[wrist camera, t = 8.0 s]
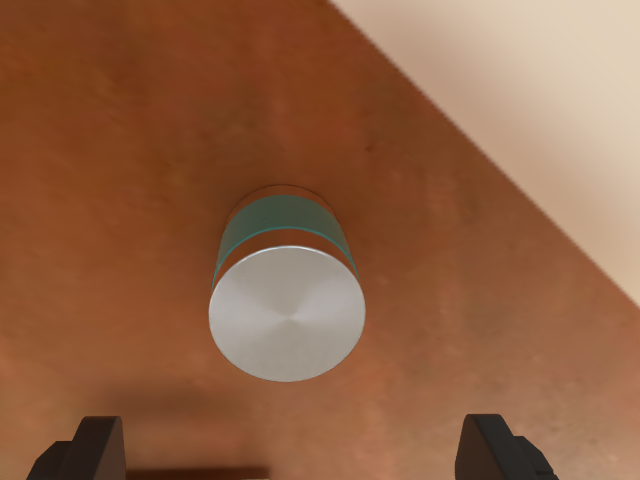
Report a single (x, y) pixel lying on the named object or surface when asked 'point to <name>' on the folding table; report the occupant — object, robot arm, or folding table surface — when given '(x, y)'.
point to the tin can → (285, 287)
